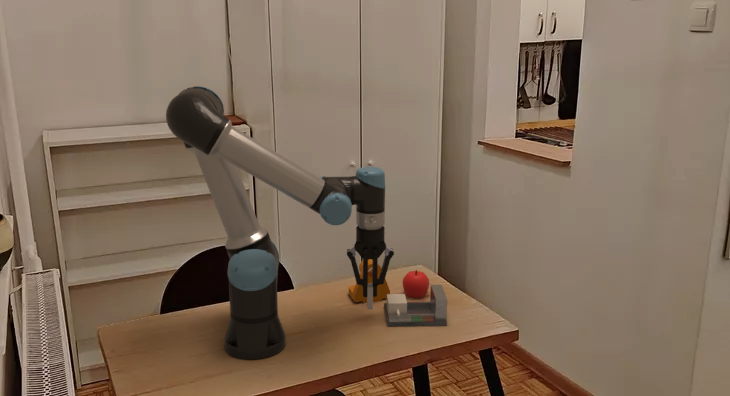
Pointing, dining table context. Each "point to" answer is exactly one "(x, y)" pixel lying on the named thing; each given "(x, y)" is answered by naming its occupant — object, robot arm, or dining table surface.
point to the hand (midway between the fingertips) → (369, 307)
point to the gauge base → (422, 311)
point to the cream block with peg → (396, 304)
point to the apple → (415, 284)
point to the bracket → (357, 290)
